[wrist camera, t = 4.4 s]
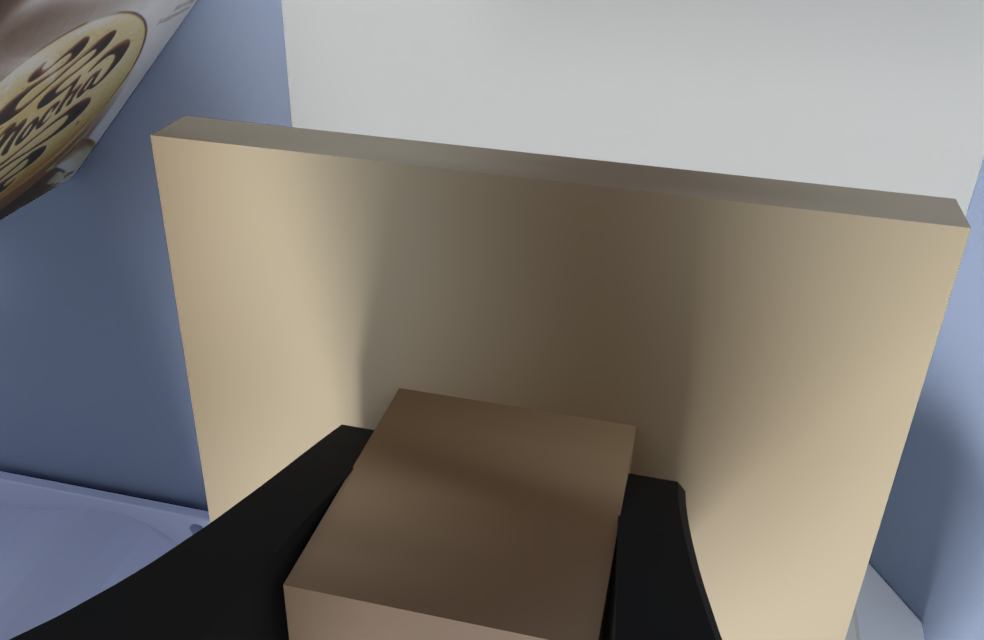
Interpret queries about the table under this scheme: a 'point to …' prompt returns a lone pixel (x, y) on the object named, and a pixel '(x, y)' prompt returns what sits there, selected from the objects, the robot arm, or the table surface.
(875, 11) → the mat
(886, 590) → the bowl
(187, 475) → the table surface
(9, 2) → the coffee box
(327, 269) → the cover
